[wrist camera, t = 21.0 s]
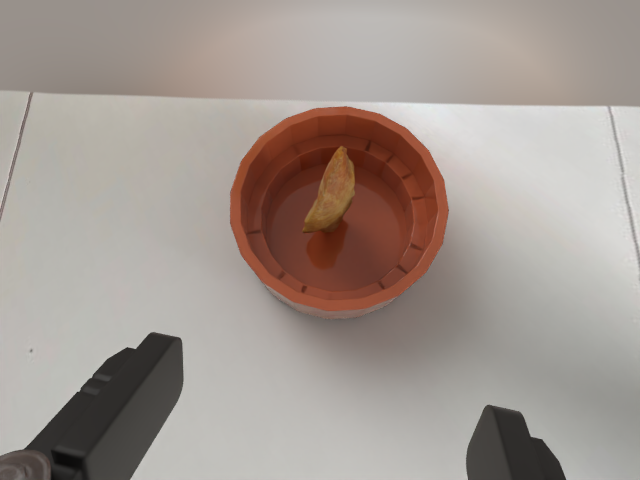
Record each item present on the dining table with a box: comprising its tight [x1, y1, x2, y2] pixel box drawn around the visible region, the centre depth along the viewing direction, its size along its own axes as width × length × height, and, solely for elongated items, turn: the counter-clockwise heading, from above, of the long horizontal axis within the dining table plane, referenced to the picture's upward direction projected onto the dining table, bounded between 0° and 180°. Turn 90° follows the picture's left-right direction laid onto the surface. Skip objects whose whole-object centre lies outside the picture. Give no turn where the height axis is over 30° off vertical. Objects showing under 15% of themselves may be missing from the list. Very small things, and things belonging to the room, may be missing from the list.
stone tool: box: [302, 146, 355, 233], centre depth 30 cm, size 5×2×15 cm, turn 142°
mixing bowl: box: [230, 107, 449, 319], centre depth 34 cm, size 17×17×7 cm
